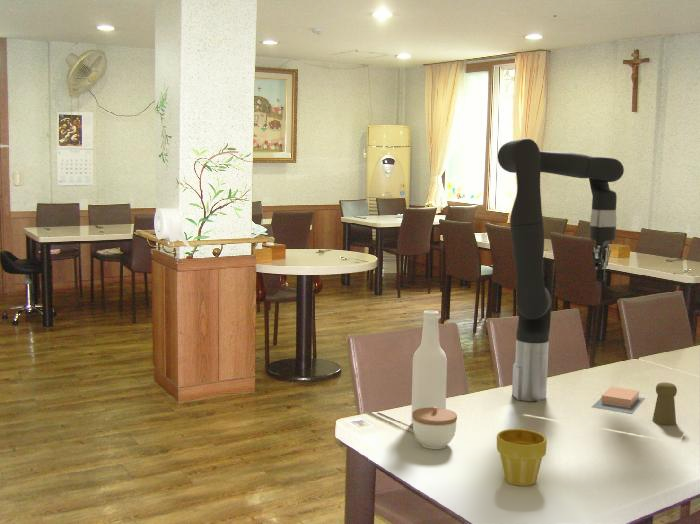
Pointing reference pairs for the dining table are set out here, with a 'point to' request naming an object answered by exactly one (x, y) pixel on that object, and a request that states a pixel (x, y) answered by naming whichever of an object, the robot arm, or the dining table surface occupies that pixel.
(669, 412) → the pepper mill
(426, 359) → the alcohol
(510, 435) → the plant pot
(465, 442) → the dining table surface
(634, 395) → the tile
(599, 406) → the mat
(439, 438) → the lidded jar
